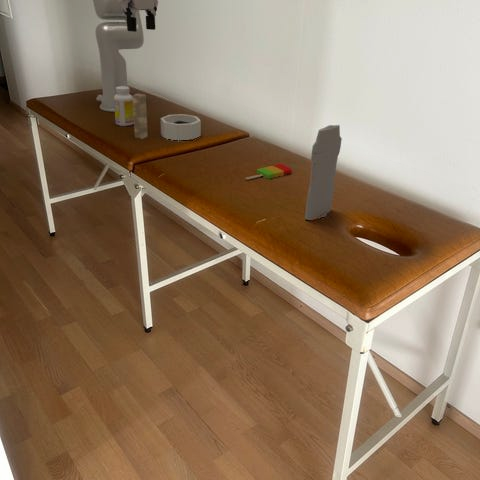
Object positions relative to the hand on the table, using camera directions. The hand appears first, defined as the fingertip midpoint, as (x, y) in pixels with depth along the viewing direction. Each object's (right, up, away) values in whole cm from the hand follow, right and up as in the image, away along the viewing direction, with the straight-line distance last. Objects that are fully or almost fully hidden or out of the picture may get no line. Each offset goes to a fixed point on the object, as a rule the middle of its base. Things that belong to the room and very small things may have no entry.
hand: (141, 30), depth 162 cm
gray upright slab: (+50, -60, -37) cm, 86 cm away
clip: (+11, -30, +15) cm, 35 cm away
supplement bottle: (-11, -24, +24) cm, 36 cm away
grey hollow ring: (+11, -30, +15) cm, 35 cm away
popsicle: (+39, -48, -15) cm, 63 cm away
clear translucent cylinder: (-2, -31, +11) cm, 33 cm away
